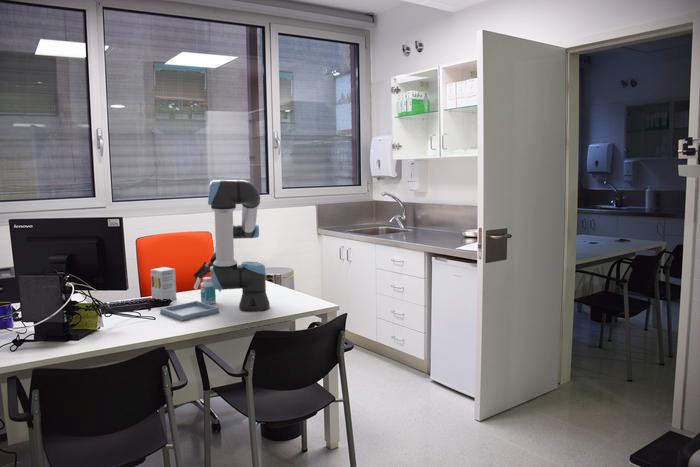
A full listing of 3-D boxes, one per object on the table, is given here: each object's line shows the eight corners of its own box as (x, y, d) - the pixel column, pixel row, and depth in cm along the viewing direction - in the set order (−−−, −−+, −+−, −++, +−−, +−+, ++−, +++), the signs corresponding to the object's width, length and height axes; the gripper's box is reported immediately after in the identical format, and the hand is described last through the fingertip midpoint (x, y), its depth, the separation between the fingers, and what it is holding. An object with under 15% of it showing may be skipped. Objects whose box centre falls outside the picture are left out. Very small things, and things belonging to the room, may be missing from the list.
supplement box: (151, 300, 289) (149, 269, 287) (165, 296, 297) (164, 266, 295) (162, 302, 284) (160, 271, 282) (177, 299, 291) (175, 268, 289)
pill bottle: (217, 301, 286) (217, 276, 285) (212, 305, 279) (212, 279, 277) (204, 301, 287) (203, 276, 285) (198, 304, 280) (198, 279, 278)
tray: (218, 312, 265) (218, 307, 264) (182, 321, 250) (181, 315, 250) (196, 305, 278) (196, 300, 278) (160, 313, 263) (160, 308, 263)
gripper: (242, 261, 295) (231, 294, 282) (200, 259, 300) (188, 292, 287) (238, 253, 289) (226, 286, 276) (195, 251, 294) (182, 284, 282)
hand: (207, 289), depth 282 cm, fingers open, 13 cm apart
